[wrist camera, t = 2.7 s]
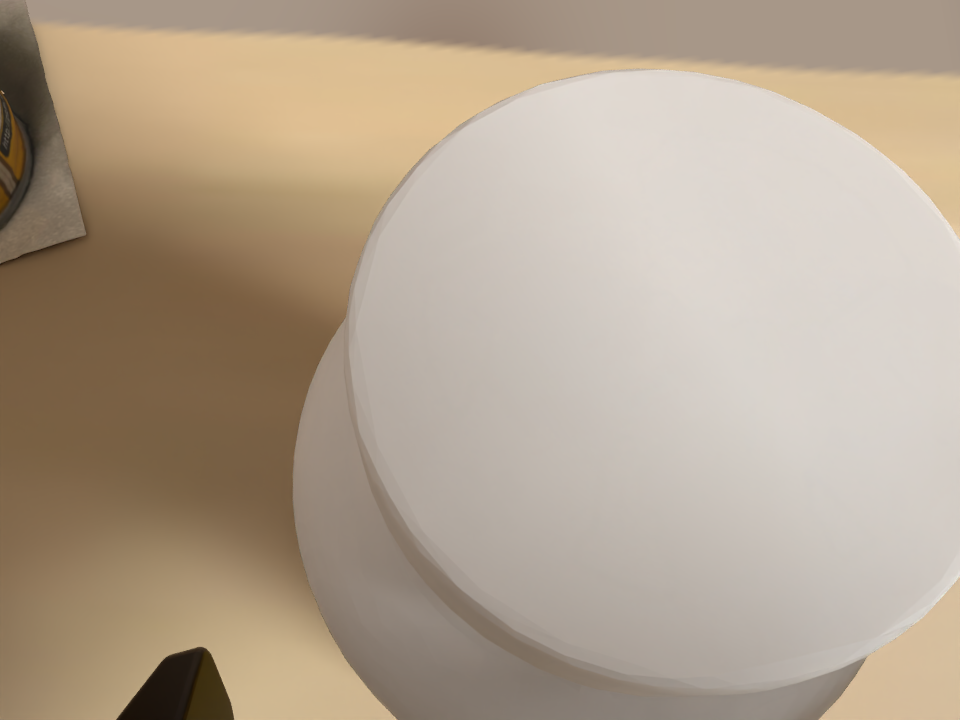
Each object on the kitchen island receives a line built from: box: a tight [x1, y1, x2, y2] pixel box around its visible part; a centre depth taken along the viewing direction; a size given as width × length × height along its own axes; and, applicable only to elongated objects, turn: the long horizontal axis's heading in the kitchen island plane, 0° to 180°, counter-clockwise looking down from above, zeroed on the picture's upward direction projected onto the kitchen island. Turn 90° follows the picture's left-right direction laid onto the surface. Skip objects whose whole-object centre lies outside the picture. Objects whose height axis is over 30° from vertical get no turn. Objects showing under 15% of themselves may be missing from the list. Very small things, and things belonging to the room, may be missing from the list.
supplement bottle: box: [293, 69, 960, 720], centre depth 11 cm, size 7×7×13 cm
